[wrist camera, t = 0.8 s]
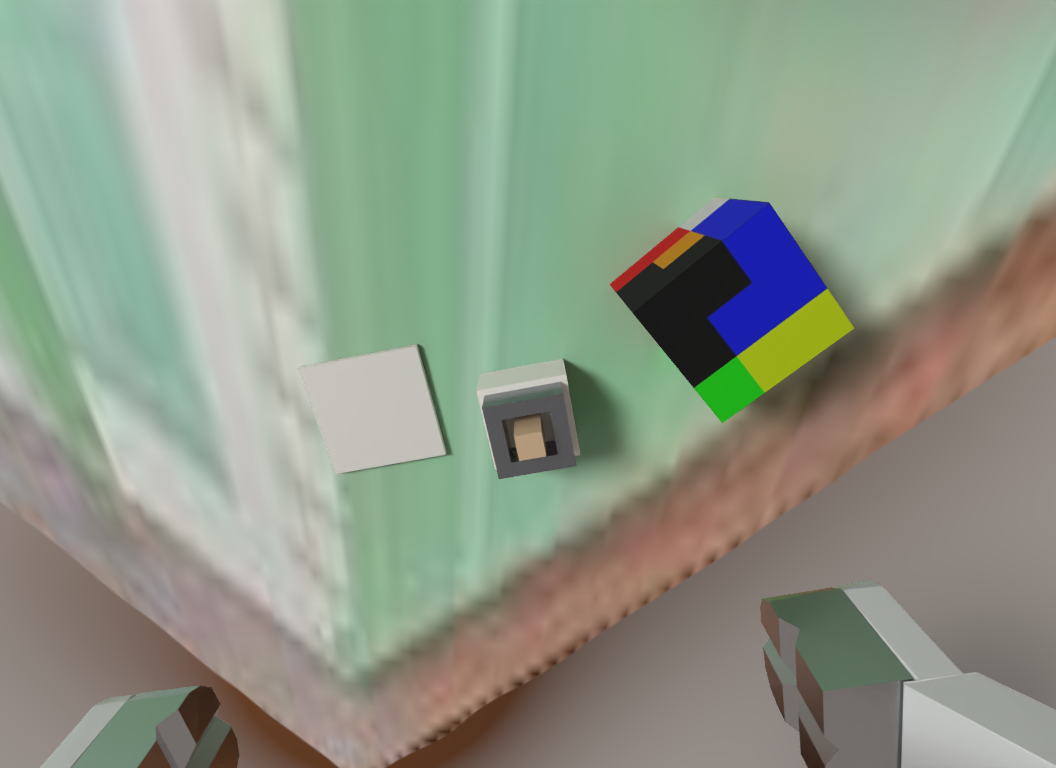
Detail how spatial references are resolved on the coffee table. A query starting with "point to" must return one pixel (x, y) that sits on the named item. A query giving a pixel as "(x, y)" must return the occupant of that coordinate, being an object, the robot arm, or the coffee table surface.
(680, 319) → the puzzle toy
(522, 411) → the ring
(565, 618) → the coffee table surface
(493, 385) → the peg stand
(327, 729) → the coffee table surface
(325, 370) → the coaster
